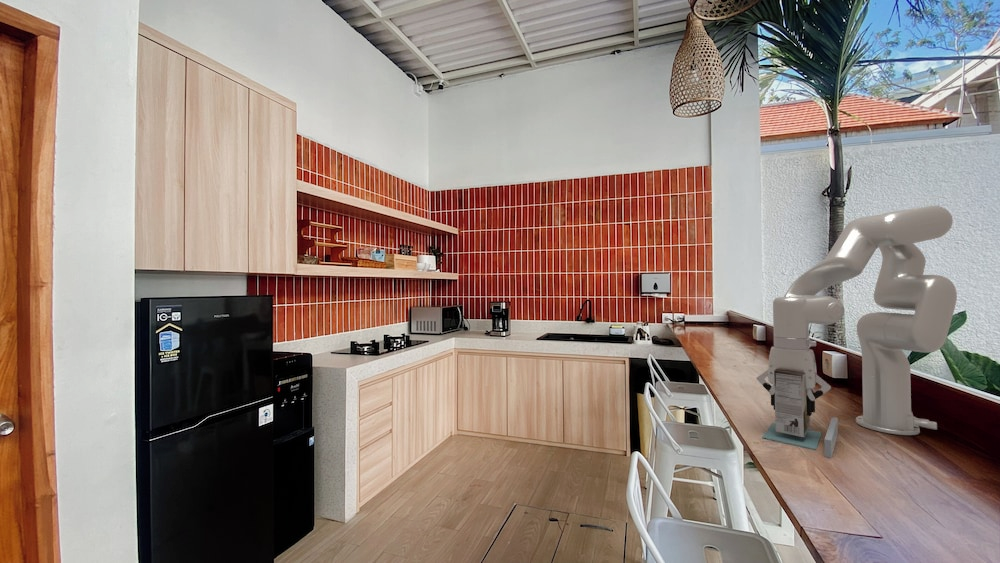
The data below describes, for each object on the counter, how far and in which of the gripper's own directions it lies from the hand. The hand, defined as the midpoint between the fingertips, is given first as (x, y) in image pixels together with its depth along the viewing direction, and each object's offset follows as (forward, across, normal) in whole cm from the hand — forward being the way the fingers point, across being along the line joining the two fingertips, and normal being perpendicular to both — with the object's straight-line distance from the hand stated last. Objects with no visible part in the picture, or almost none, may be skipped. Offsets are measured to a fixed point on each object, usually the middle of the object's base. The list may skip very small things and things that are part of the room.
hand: (792, 411), depth 104 cm
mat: (+7, 0, 0) cm, 7 cm away
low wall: (+7, -8, 0) cm, 10 cm away
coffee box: (+5, 0, 0) cm, 5 cm away
